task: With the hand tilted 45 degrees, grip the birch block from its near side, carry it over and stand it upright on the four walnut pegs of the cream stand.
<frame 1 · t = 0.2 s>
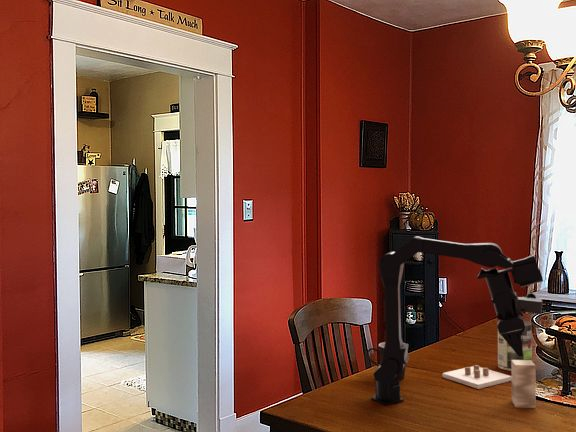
hand: (520, 351, 160), 15 cm above the table, tool tilted 15°, fingers open, 9 cm apart
coffee can: (514, 367, 200), on the table
birch block: (523, 404, 165), on the table
coffee mug: (389, 377, 192), on the table
peg stand: (476, 378, 188), on the table
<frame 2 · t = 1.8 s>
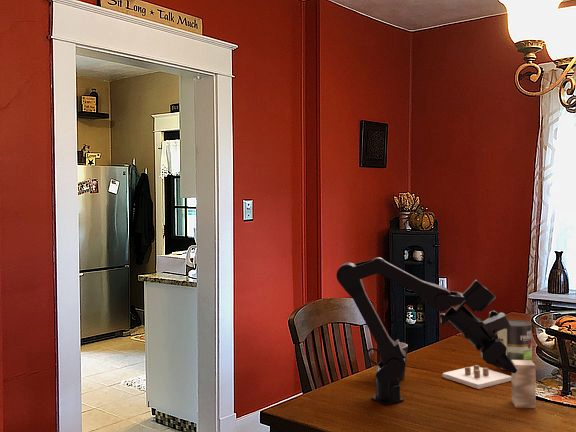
hand: (512, 366, 165), 10 cm above the table, tool tilted 45°, fingers open, 9 cm apart
nothing on the table moved.
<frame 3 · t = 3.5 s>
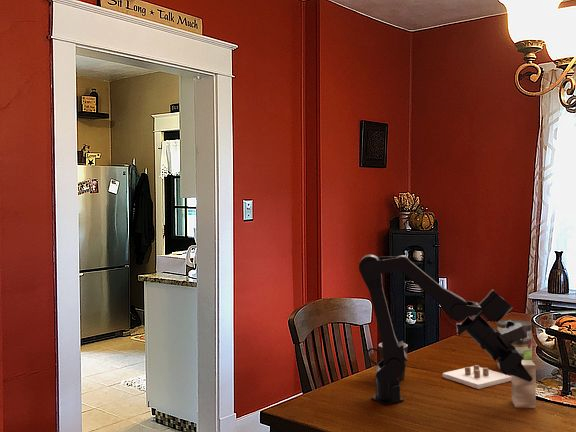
hand: (528, 377, 165), 7 cm above the table, tool tilted 45°, fingers closed on birch block, 5 cm apart
birch block: (523, 404, 165), on the table, touching gripper
everything else where it was.
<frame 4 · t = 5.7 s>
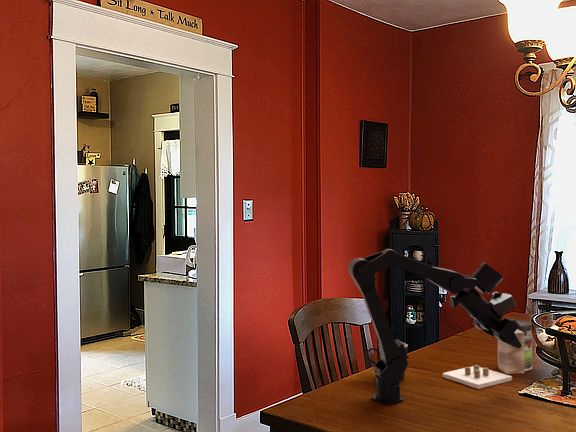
hand: (516, 344, 174), 13 cm above the table, tool tilted 45°, fingers closed on birch block, 5 cm apart
birch block: (511, 370, 174), point 6 cm above the table, touching gripper
everything else where it was.
when the fingers open (11 cm above the table, at t = 7.7 s): birch block stays where it is, resting on peg stand.
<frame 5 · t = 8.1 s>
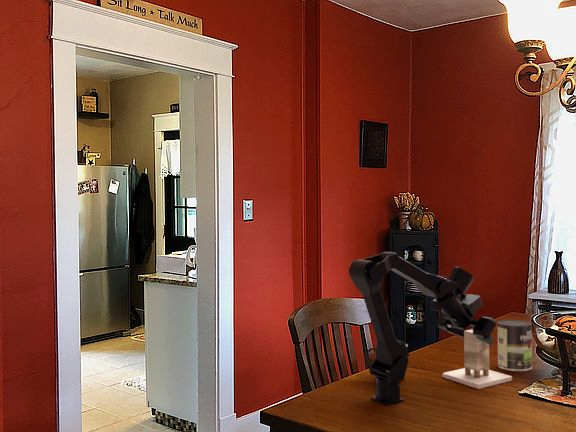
hand: (479, 340, 189), 11 cm above the table, tool tilted 45°, fingers open, 9 cm apart
birch block: (476, 368, 188), point 3 cm above the table, touching peg stand
everything else where it was.
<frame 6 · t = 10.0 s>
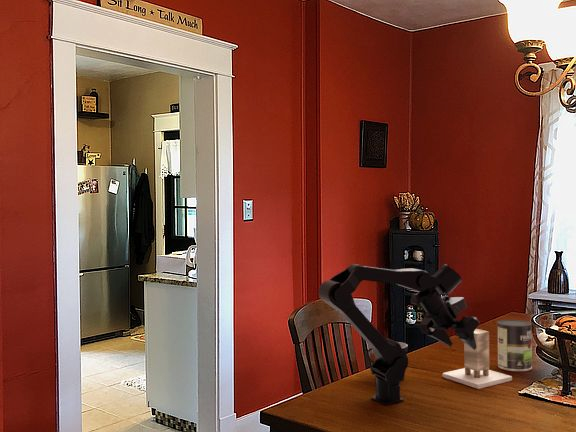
hand: (463, 347, 180), 12 cm above the table, tool tilted 35°, fingers open, 9 cm apart
nothing on the table moved.
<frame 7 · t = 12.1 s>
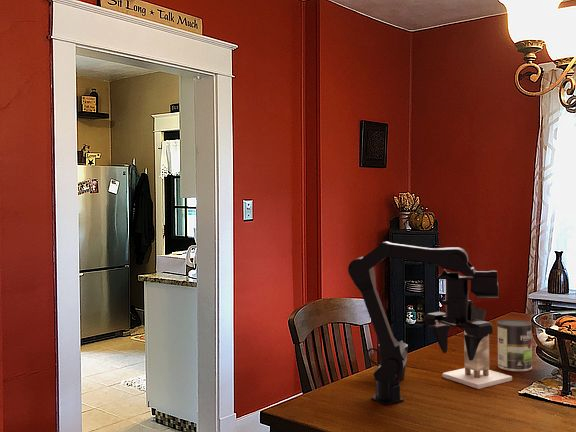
hand: (457, 356, 165), 13 cm above the table, tool pointing down, fingers open, 9 cm apart
nothing on the table moved.
at the end: birch block 0.0 cm off-centre on the peg stand, point 3.2 cm above the peg stand's base; birch block tilted 0°; the gripper is holding nothing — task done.
